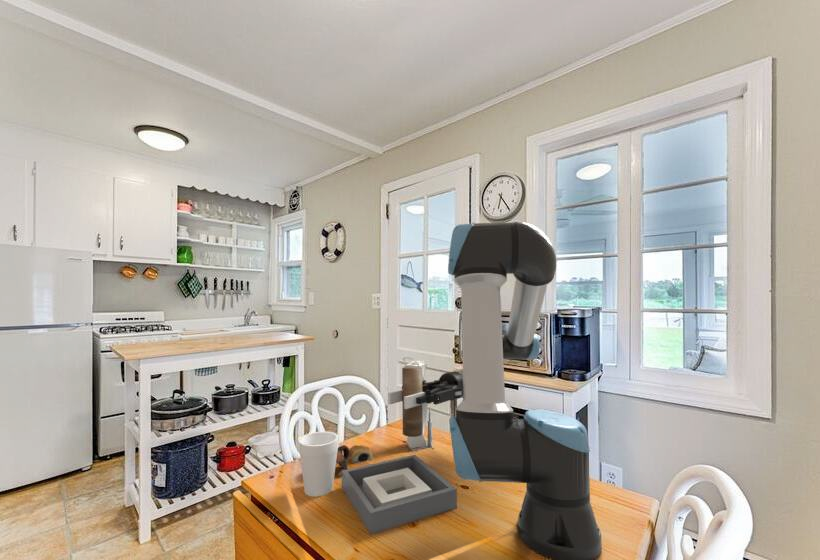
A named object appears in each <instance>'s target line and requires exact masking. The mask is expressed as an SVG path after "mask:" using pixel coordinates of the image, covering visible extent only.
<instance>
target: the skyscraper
mask: <svg viewBox="0 0 820 560" xmlns="http://www.w3.org/2000/svg"><path fill="white" fill-rule="evenodd" d="M405 359H406V360H411V362H410V363H407V364H406V360H405ZM402 360H403V365H404V367H421V368H422V381H423V380H425V375H426V370H427V362H426V361H424V360H421V359H418V360H417V359H414V358H412V357H409V356H406V357H405V356H404V357H403V358H402ZM428 406H429V404H428V403H425V404H422V409H423V434H422V435H420V436H417V437H408V436H406V441H405V444H406V446H407V447H408V449H409V450H410V451H411V452H415V451H421V450H425V449H432V450H435V448H434V441H433V439H434V438H433V436H434V435H433V420H432V412H431V407H429V408H428ZM428 411H429V412H428ZM427 418H428V421H427ZM426 426H427V436H426V437H427V439H425V435H424V434H425V431H426Z"/></svg>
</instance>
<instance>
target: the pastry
mask: <svg viewBox="0 0 820 560" xmlns="http://www.w3.org/2000/svg"><path fill="white" fill-rule="evenodd" d="M349 451H350V455H349V458H348V459H351V460H350V463H351V462H352V463H351V464H352V465H356V464H360V463H364V462H370V461H372V460H373V459H374V453H373V452H372V450H371V449H370V448H369V447H368V446H365V445H357V444H356V445H355V444H354V445H353V446H352V447H350V448H349Z"/></svg>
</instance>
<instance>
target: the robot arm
mask: <svg viewBox="0 0 820 560" xmlns="http://www.w3.org/2000/svg"><path fill="white" fill-rule="evenodd" d="M450 239H451V240H450V246H449V253H448V254H449V255H448V266H447V270H448V271H447V273H448V274H449V275H451V276H454V277H453V278H454V280H453V281H454V283H455V284H456V285H457V286H458V287H459V288H460V290H461V293H460V294H461V340H462V342H461V343H462V344H461V346H462V347H461V349H462V350H461V351H462V353H461V354H462V368H460V369H457V370H456V369H455V370H453V371H449V372H444V373H443V374H441V376H440V377H439V379H435V380H433V381H429V382H428V381H427V380H425V379H424V380H423V381H422V392H421V393H417V394H413V395H409V396H405V397H404V409H408V408H412V407H415V406H418V405H422V404H425V403H428V405H429V404H430V405H431V404H433V405H439V404H440V405H441V404H443V403H446V402H449V401H455V400H458V399H462V400H461V402H460V403H459V404H458V405H457V406H456V407H455V411H456V412H455V415H453V416H450V417H449V430H450V438H451V439H450V441H451V446H452V447H451V449H452V455H453V461H454V462H453V463H454V467H455V472H456V474H457V476H458V477H459V478H461V479H462V480H467V481H468V480H469V481H478V482H479V483H482V482H495V483H496V482H497V483H512V484H513V483H514V484H517V483H518V484H526V487H525V488H526V489H525V494H524V498H523V501H522V504H521V508H520V511H519V513H518V516H517V517H518V518H517V530H518V536H519V537H520V539H521V540H522V541H523V542H522V543H524V544H525V545H526V546H527V547H528V548H529V549H531V550H532V551H533V552H535V553H537V554H538V555H540V556H542V557H544V558H547V559H549V558H550V559H549V560H552V559H553V560H595V559H596V558H598V557H599V556H600V554H601V553H602V552H601V551H602V548H603V547H602V546H603V545H602V543H603V542H602V532H601V529H600V527H599V525H598V524H597V520H596V517H595V513H594V510H593V507H592V504H591V494H590V493H591V490H590V489H591V488H590V487H591V484H590V482H591V481H590V445H589V436H588V435H589V434H588V430H587V428H586V427H585V425H584V424H583V423H582V422H580V421H579V420H578V419H575V418H573V417H572V416H569V415H567V414H564V413H561V412H557V411H553V410H552V411H551V410H546V409H538V408H537V409H529V410H526V411H525V413H524V416H523V418H514V415H515V414H514V409H513V408H512V407H511V406H510V404H509V403H508V402H507V401H506V394H505V393H506V391H505V370H504V360H525V361H526V360H527V361H528V360H535V359H538V357H539V355H540V348H541V346H540V345H541V344H540V339H539V337H538V336H539V335H537V334H536V331H537V327H538V323H539V318H540V316H541V311H542V307H543V303H544V299H545V295H546V292H547V287H548V285H549V284H550V283H551V282H552V281H553V280H554V279H555V278H554V277H555V275H556V270H557V256H556V252H555V249H554V246H553V244H552V242H551V241H550V239H549V238H548V236H547V235H546V234H545V233H544V232H543V231H542V230H541V229H539V228H538V227H536V226H535V225H533V224H530V223H527V222H522V221H514V222H485V223H484V222H479V223H478V222H477V223H476V222H471V223H464V224H462V223H461V224H457V225H455V227H454V228H453V230H452V233H451V238H450ZM509 274H510V275H511V274H513V276H514V278H515V281H514V289H513V296H512V302H511V307H510V313H509V319H508V326H507V332H506V333H503V323H502V322H503V321H502V300H501V288H502V286H503V285H504V284H505V283H506V282H507V281H508V275H509ZM400 402H401V403H402V388H401V389H397V390H393V391H390V392H387V404H388V405H392V404H396V403H400Z"/></svg>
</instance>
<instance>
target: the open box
mask: <svg viewBox="0 0 820 560" xmlns="http://www.w3.org/2000/svg"><path fill="white" fill-rule="evenodd" d="M405 468H409V469H410V470H411V471H412V472H413V473H414V474H415V475H416V476H418V477H419V478H420V479H421V480H422V481H423V482H424V483H425V484H426V485H427V486H428V487H429V488H431V489H432V493H428V494H425V495H421V496H417V497H414V498H410V499H407V500H403V501H399V502H396V503H392V504H389V505H385V506H381V507H378V508H374V506H373V505H372V503H371V502H370V501H369V499H368V498H367V496H366V495H365V494H364V492H363V478H366V477H371V476H375V475H379V474H383V473H388V472H392V471H396V470H400V469H405ZM341 489H342V491H343V493H344V494H345V496H346V498H347V499H348V501H349V502H350V504H351V505H352V507H353V508H354V510H355V512H356V513H357V515H358V516H359V519H361V522H363V523H362V524H364V526H365V528H366V529H367V530H368V532H369V535H374V534H376V533H380V532H384V531H386V530H390V529H393V528H396V527H400V526H403V525H406V524H409V523H412V522H416V521H419V520H422V519H425V518H430V517H431V516H435V515H438V514H441V513H445V512H448V511H452V510H455V509H457V508H458V506H457V505H458V498H457V497H458V495H457V489H458V488H456V487H455V486H453V484H451V483H450V482H449V481H448V480H447V479H446V478H444V477H443V476H441V474H439V473H438V472H437V471H436V470H434V469H433V468H432V467H431V466H429V464H427V463H425V461H424V460H422V459H421V458H419V457H418V456H417V455H416V454H411V455H407V456H402V457H398V458H393V459H389V460H384V461H380V462H379V461H378V462H374V463H371V464H365V465H361V466H357V467H352V468H348V469H347V470H343V471H342V477H341ZM404 490H406V489H405V488H404V487H400V488H396V489H392V490H389V491H386V493H387V494H388V495H389V494H392V493H396V492H400V491H404Z"/></svg>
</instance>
